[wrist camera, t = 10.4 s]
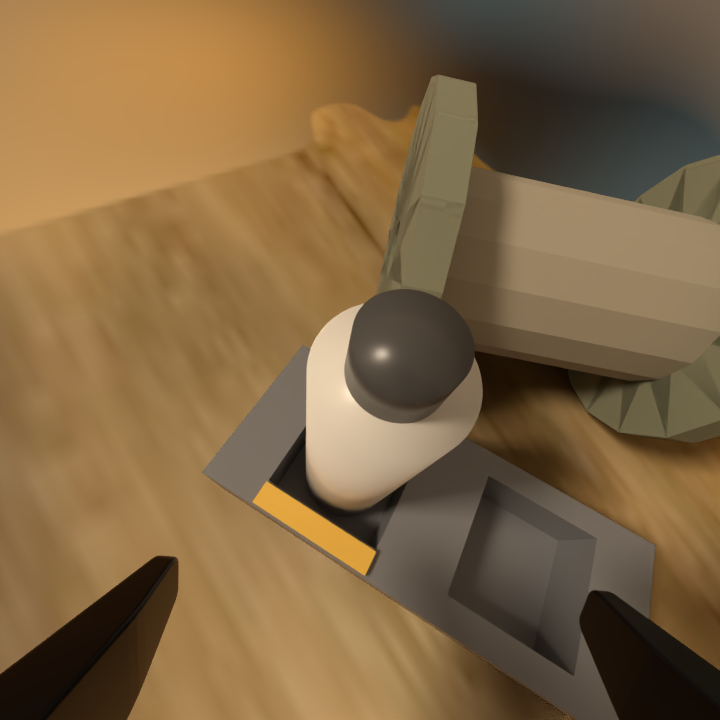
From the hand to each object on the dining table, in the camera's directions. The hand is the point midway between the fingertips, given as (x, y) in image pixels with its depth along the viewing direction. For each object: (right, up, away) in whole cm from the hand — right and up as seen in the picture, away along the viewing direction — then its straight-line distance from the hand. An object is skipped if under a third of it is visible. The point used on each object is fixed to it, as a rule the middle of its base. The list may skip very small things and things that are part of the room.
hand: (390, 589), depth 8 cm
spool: (+8, +6, +19) cm, 21 cm away
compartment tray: (+2, -4, +12) cm, 13 cm away
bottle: (-1, -1, +12) cm, 12 cm away
